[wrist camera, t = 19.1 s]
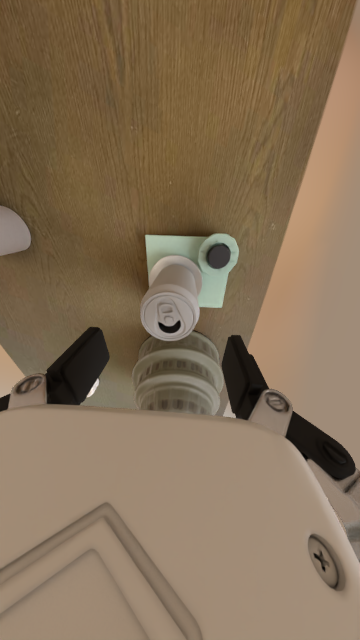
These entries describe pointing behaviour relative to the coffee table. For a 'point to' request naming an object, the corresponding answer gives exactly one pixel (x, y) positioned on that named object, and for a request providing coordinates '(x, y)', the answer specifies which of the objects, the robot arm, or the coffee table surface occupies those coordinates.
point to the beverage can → (171, 304)
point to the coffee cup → (12, 232)
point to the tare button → (218, 256)
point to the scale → (196, 261)
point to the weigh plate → (177, 261)
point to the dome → (178, 375)
